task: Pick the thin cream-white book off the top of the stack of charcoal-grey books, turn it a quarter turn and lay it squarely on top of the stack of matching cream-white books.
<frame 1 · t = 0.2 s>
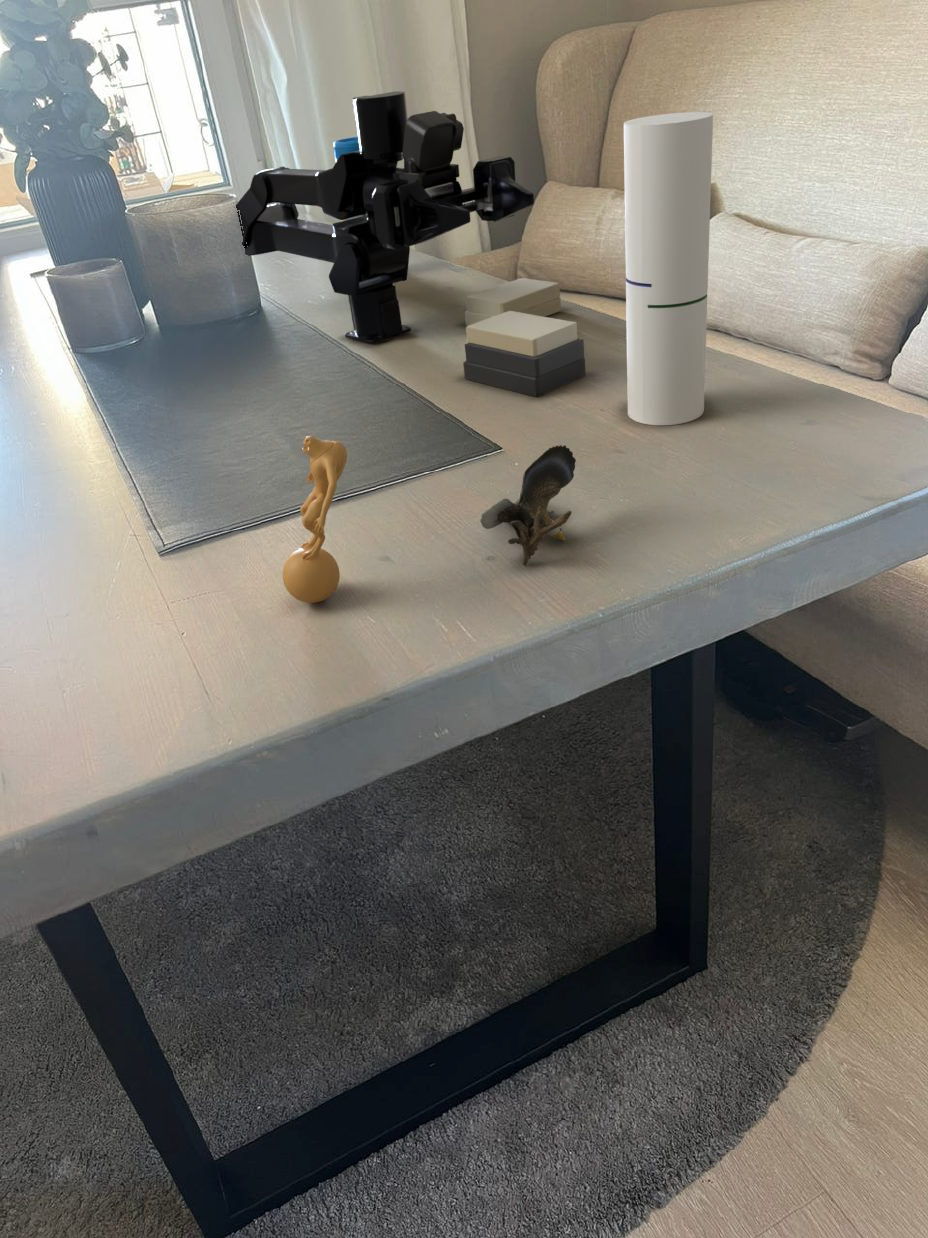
hand: (501, 207, 97), 17 cm above the table, tool horizontal, fingers open, 9 cm apart
white books: (513, 317, 123), on the table
beverage bottle: (375, 276, 152), on the table
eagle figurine: (536, 541, 71), on the table
cylindrical container: (665, 413, 90), on the table
figurine: (331, 598, 67), on the table
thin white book: (522, 340, 100), point 4 cm above the table, touching grey books
grey books: (524, 377, 103), on the table
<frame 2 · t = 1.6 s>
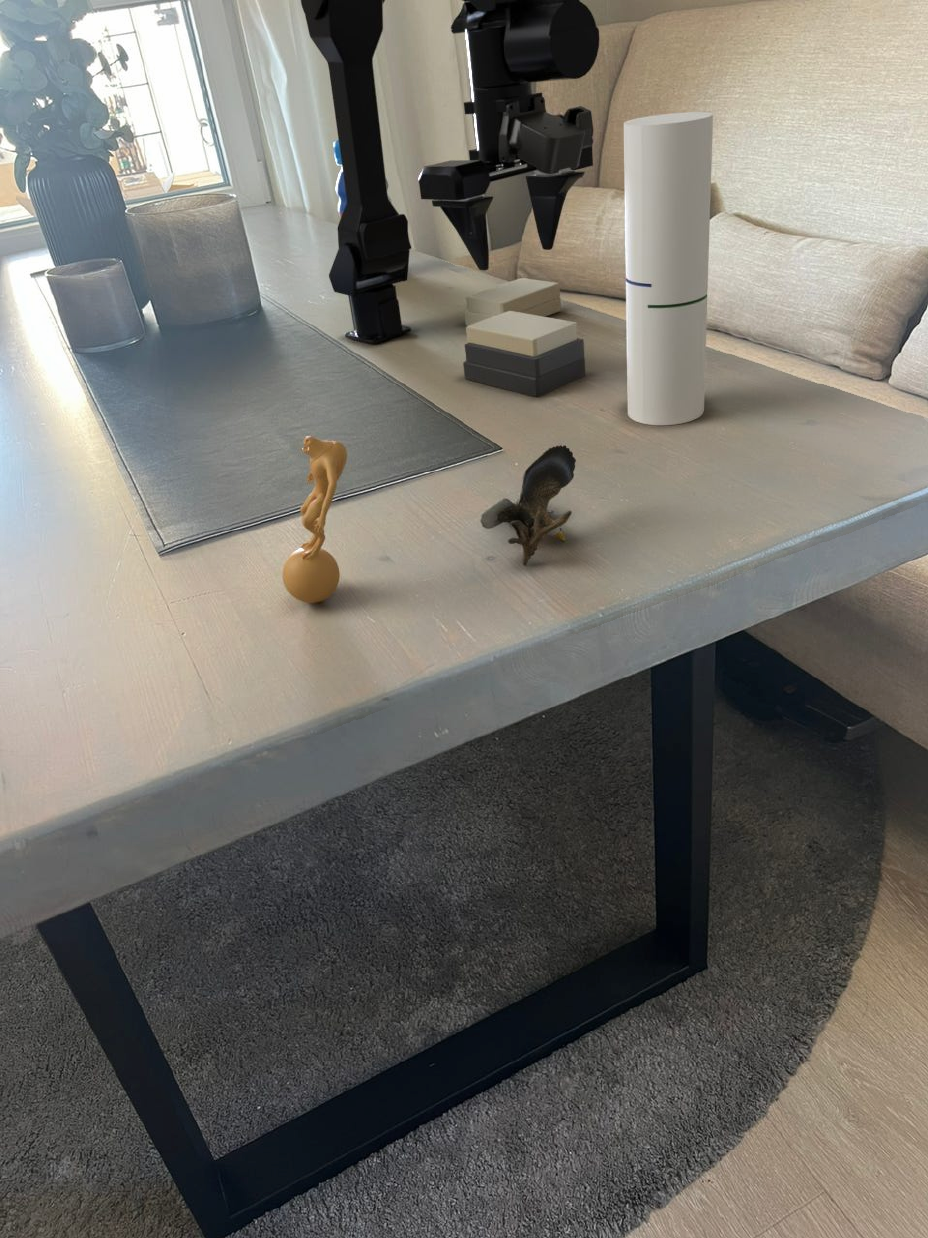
hand: (516, 259, 96), 12 cm above the table, tool pointing down, fingers open, 9 cm apart
nothing on the table moved.
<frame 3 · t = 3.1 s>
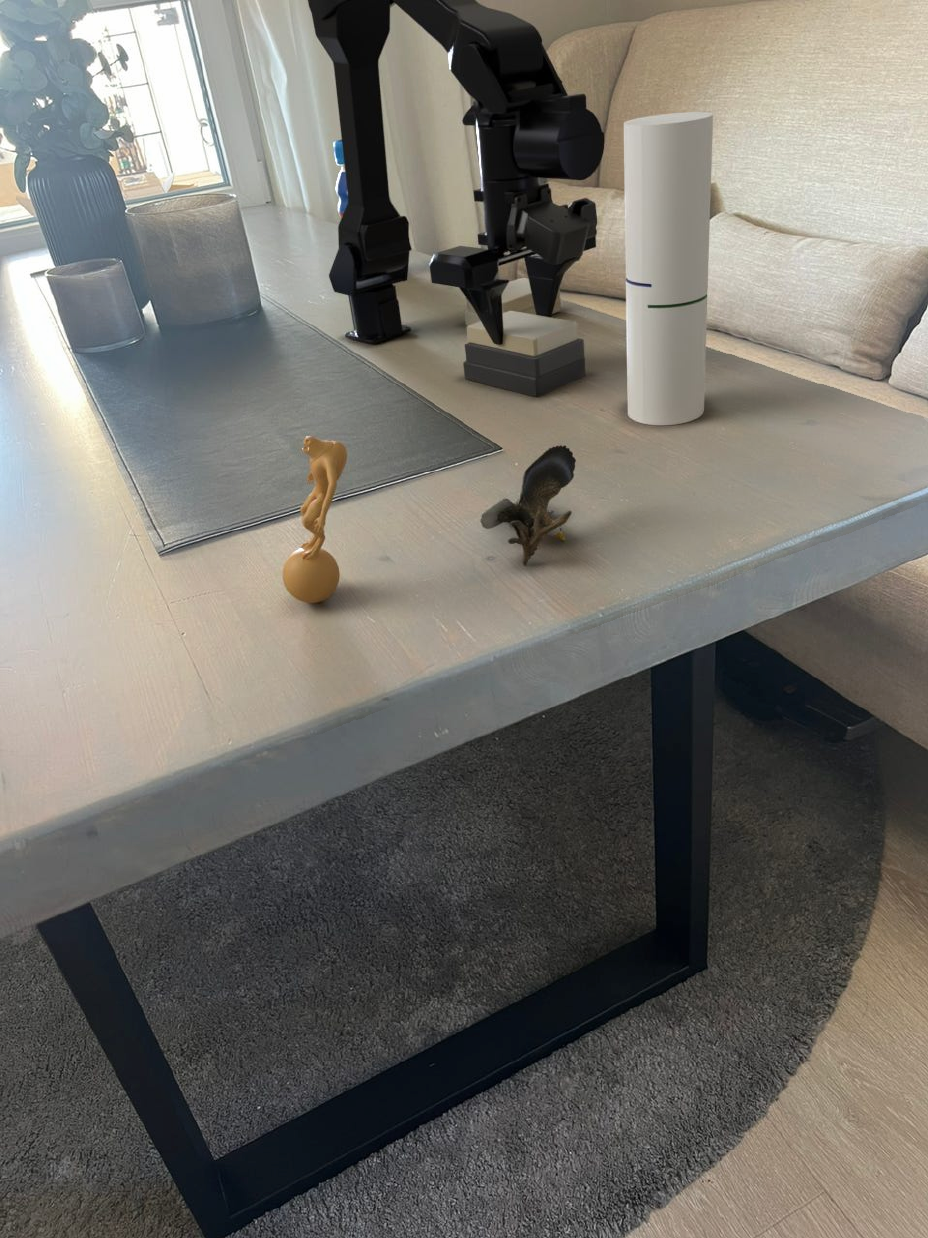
hand: (521, 335, 100), 5 cm above the table, tool pointing down, fingers closed on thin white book, 7 cm apart
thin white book: (522, 340, 100), point 4 cm above the table, touching grey books, gripper
everything else where it was.
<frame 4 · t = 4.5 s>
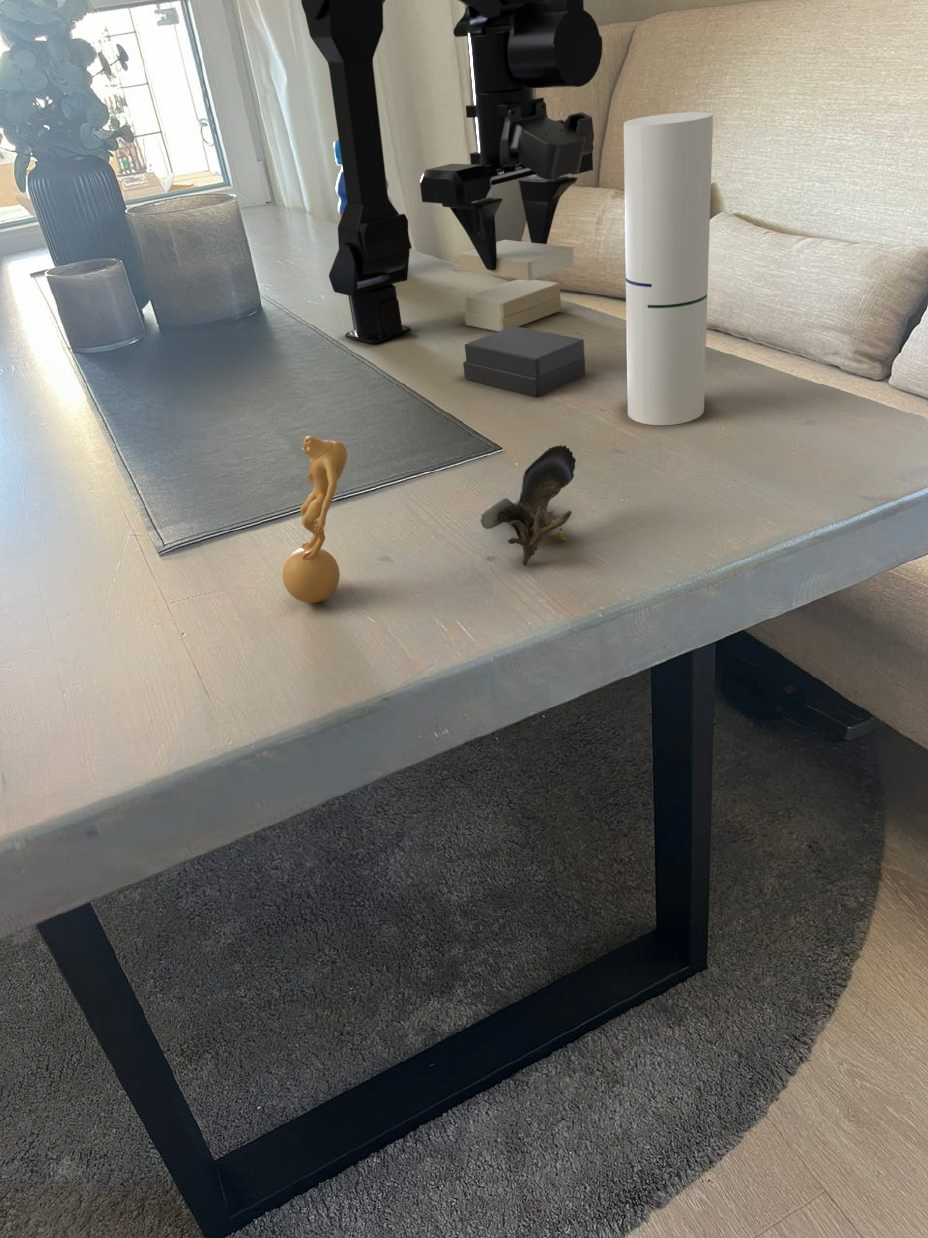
hand: (515, 261, 97), 12 cm above the table, tool pointing down, fingers closed on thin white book, 7 cm apart
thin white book: (517, 268, 97), point 11 cm above the table, touching gripper
everything else where it was.
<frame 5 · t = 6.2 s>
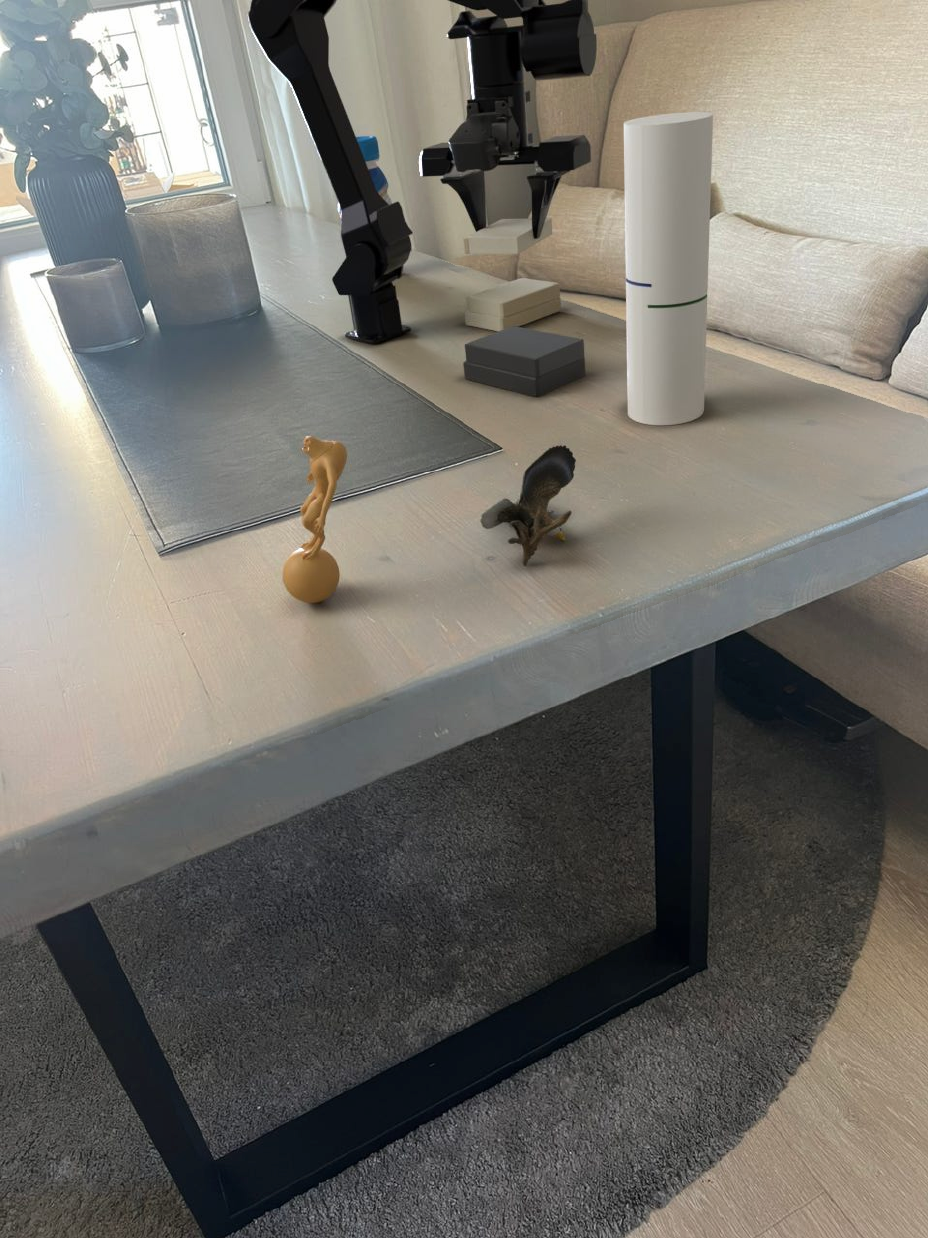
hand: (509, 238, 109), 12 cm above the table, tool pointing down, fingers closed on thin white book, 7 cm apart
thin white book: (510, 243, 109), point 11 cm above the table, touching gripper
everything else where it was.
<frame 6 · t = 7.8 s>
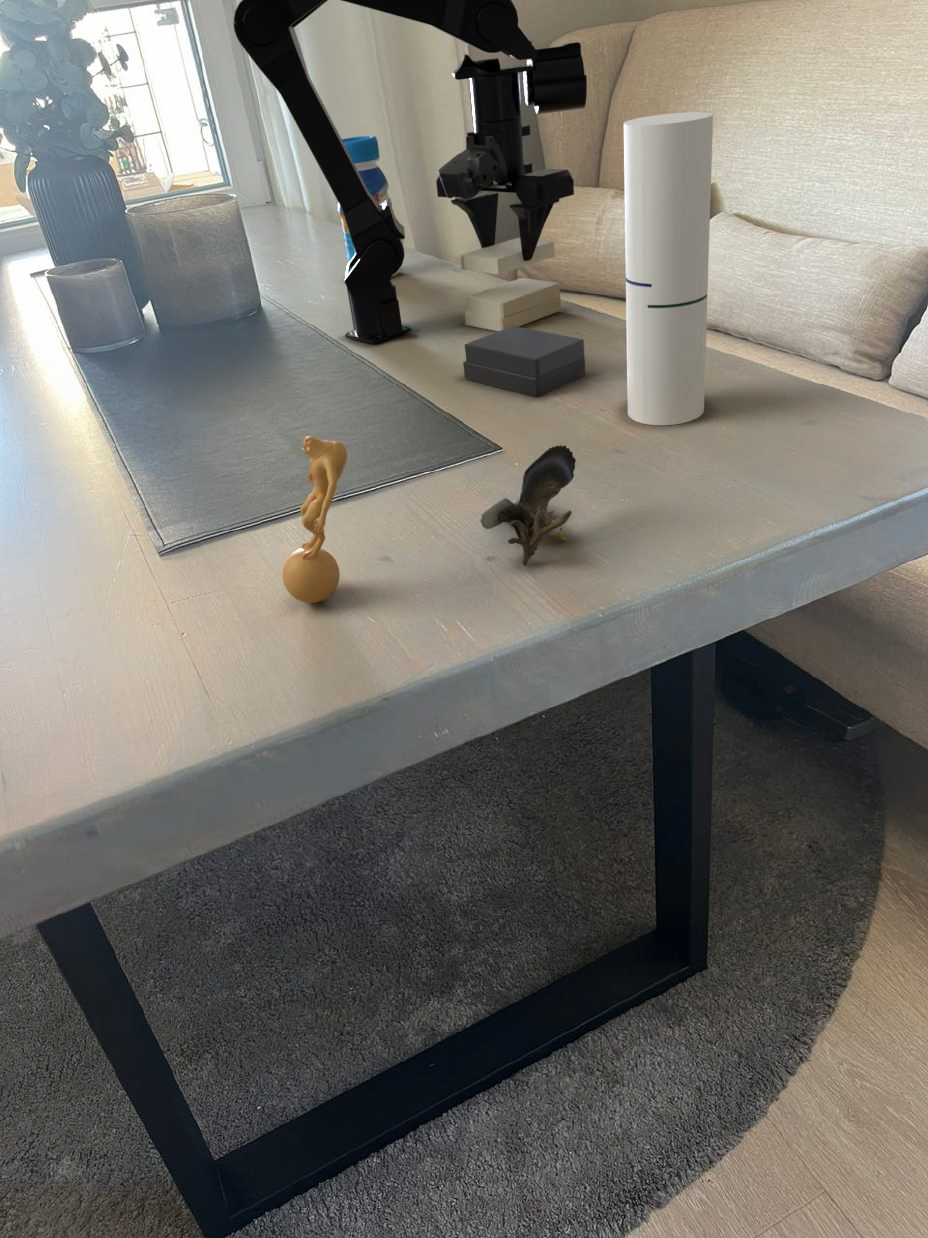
hand: (507, 257, 119), 8 cm above the table, tool pointing down, fingers closed on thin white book, 7 cm apart
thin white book: (508, 262, 119), point 7 cm above the table, touching gripper
everything else where it was.
when the fingers open (4 cm above the table, at t = 9.3 s): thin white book stays where it is, resting on white books.
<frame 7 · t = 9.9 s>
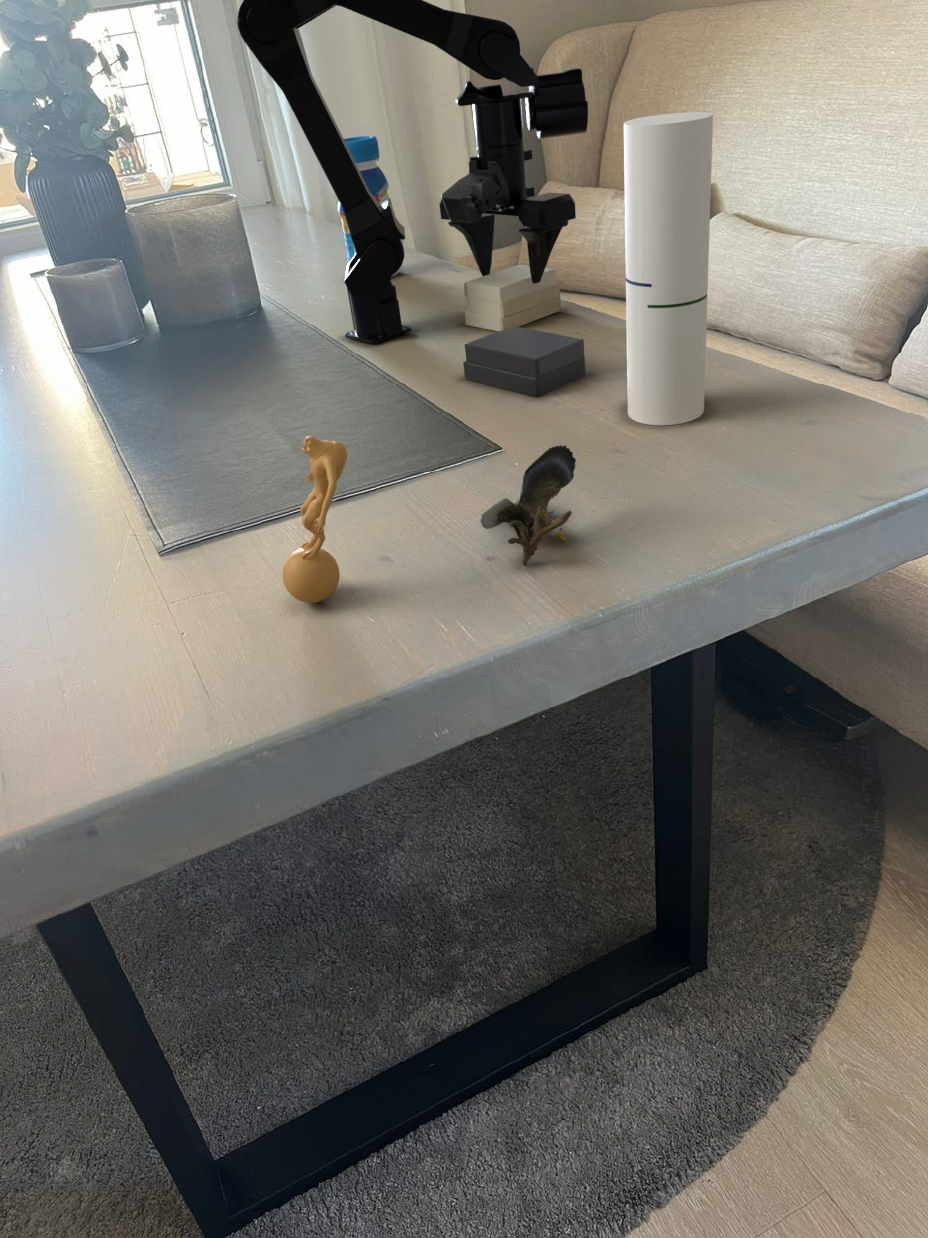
hand: (510, 279, 120), 5 cm above the table, tool pointing down, fingers open, 9 cm apart
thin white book: (511, 289, 121), point 4 cm above the table, touching white books
everything else where it was.
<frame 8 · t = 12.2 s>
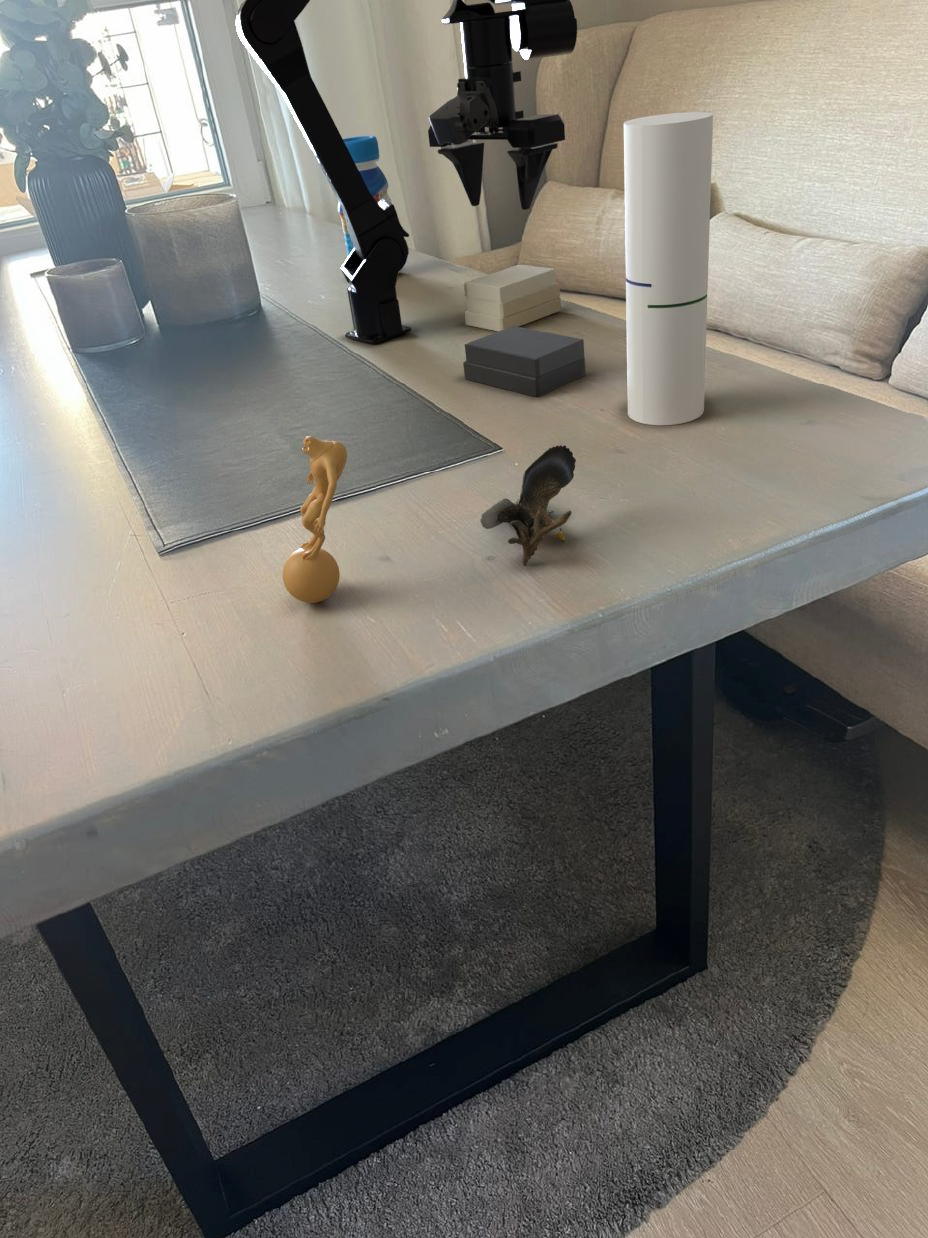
hand: (500, 207, 119), 13 cm above the table, tool pointing down, fingers open, 9 cm apart
nothing on the table moved.
at the end: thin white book 0.1 cm off-centre on the white books, point 3.6 cm above the white books's base; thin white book tilted 0°; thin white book touching white books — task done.
